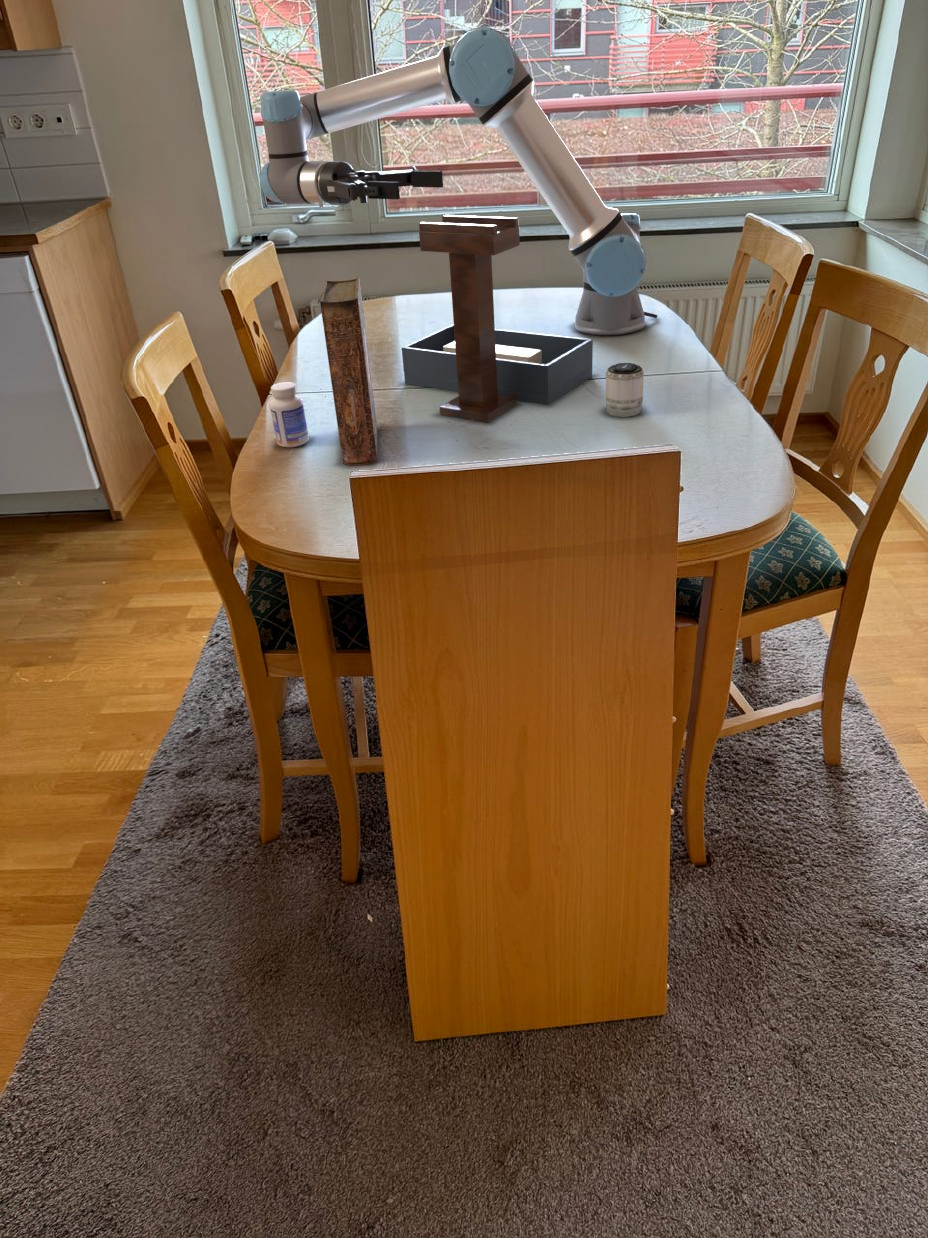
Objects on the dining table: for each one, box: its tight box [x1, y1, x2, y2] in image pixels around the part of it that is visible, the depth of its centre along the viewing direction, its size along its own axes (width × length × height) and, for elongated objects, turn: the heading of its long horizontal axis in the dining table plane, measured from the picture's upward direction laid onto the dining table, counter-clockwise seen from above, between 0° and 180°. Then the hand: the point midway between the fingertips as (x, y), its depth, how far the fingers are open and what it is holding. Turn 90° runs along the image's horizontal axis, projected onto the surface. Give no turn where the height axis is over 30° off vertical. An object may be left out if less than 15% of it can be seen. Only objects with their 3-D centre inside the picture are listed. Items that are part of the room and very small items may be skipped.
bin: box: [401, 323, 594, 406], centre depth 173 cm, size 32×18×7 cm, turn 57°
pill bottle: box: [269, 381, 310, 448], centre depth 152 cm, size 5×5×10 cm
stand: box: [418, 214, 521, 424], centre depth 153 cm, size 14×10×31 cm
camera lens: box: [605, 362, 645, 418], centre depth 154 cm, size 6×6×8 cm
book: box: [319, 276, 378, 466], centre depth 144 cm, size 16×6×25 cm, turn 5°
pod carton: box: [443, 341, 542, 364], centre depth 174 cm, size 19×5×4 cm, turn 57°
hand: (420, 184), depth 164 cm, fingers open, 13 cm apart
